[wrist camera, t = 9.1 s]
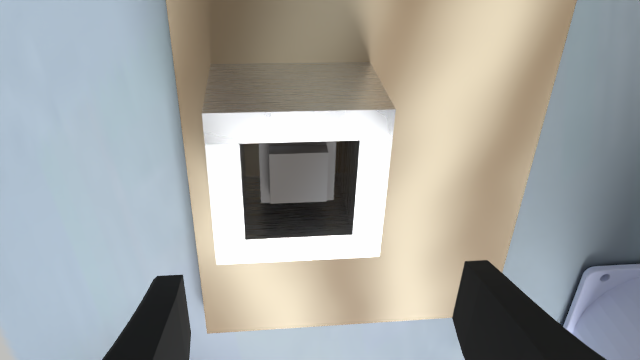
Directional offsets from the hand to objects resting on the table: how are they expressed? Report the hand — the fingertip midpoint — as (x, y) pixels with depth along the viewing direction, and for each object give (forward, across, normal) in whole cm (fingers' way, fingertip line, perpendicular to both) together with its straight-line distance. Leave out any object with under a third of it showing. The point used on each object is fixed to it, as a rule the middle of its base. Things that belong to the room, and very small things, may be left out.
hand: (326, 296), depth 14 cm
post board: (+9, -3, +1) cm, 10 cm away
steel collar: (+8, 0, 0) cm, 8 cm away
